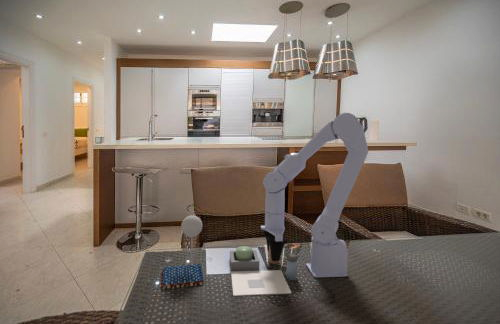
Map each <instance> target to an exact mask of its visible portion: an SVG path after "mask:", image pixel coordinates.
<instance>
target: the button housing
mask: <svg viewBox="0 0 500 324" xmlns="http://www.w3.org/2000/svg"><path fill="white" fill-rule="evenodd" d="M229 263H230V272H239V271H260V259H259V256H258V252H257V250H256V249H255V250H253V249H252V260H236V250H229Z"/></svg>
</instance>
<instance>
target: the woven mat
mask: <svg viewBox="0 0 500 324" xmlns="http://www.w3.org/2000/svg"><path fill="white" fill-rule="evenodd" d="M201 265H202V264H201V263H193V264H192V265H191V264H189V263H187V264H185V265H184V264H182V265H178V264H177V265H175V266H174V265H171V266H167V265H166V266H164V267H163V269H162V272H161V282H160V284H161V285H160V287H161V288H162V290H166V289H168V290H169V289H175V288H177V289H178V288H180V287H181V288H184V287H188V286H190V287H193V286H195V287H197V286H198V285H197V284H199V286H203V283H205V281H204V276H203V275H204V274H203V271H202V266H201Z"/></svg>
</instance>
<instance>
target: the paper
mask: <svg viewBox="0 0 500 324" xmlns="http://www.w3.org/2000/svg"><path fill="white" fill-rule="evenodd" d="M230 273H231V284H232V295H233V297H240V296H243V297H244V296H264V295H265V296H266V295H267V296H268V295H269V296H270V295H288V294H292V291H291V289H290V286H289V285H288V282H287V280H286V277H285V276H284V274H283V272H282V269H277V270H275V269H274V270H273V269H272V270H240V271H230Z"/></svg>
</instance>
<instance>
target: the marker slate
mask: <svg viewBox="0 0 500 324" xmlns="http://www.w3.org/2000/svg"><path fill="white" fill-rule="evenodd" d="M285 273H286V274H285V279H287V280H289V281H295V280H297V278H298V277H297V276H298V255H297V254H295V253H288V254H286V272H285Z"/></svg>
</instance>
